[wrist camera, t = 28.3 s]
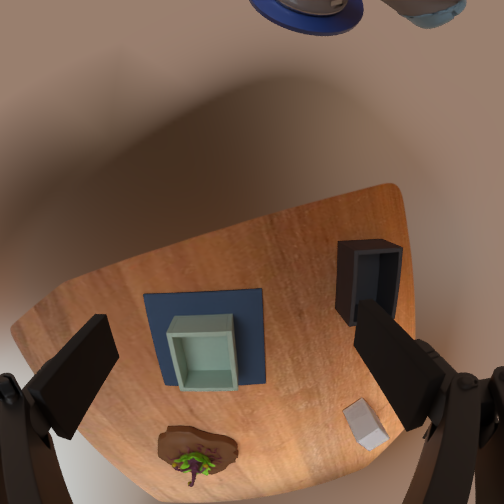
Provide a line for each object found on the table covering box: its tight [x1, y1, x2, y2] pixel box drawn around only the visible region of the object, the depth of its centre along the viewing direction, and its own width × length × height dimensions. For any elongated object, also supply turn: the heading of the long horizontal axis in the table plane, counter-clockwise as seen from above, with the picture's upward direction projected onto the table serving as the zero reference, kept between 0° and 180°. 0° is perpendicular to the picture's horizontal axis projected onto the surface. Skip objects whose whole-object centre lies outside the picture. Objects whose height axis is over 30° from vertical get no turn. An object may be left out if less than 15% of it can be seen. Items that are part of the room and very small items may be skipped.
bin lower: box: [335, 239, 403, 327], centre depth 41 cm, size 12×8×7 cm
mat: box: [143, 288, 266, 386], centre depth 46 cm, size 20×20×1 cm
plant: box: [158, 426, 238, 487], centre depth 48 cm, size 20×20×11 cm
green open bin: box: [166, 314, 238, 391], centre depth 43 cm, size 12×10×6 cm
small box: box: [343, 398, 389, 451], centre depth 48 cm, size 8×6×10 cm
